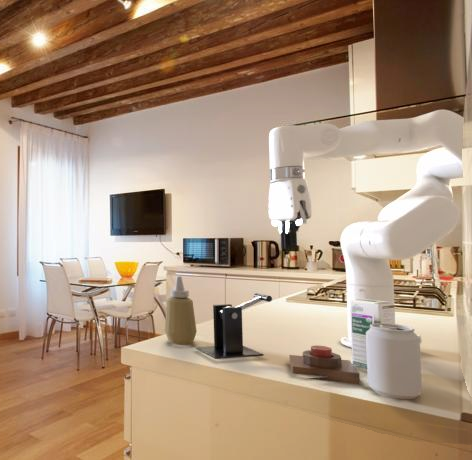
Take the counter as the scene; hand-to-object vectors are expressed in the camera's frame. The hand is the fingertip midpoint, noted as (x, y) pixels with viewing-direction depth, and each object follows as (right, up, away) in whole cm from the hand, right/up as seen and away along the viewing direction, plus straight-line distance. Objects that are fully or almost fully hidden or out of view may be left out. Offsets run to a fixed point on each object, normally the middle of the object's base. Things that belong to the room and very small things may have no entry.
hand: (289, 248), depth 104 cm
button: (-4, -21, -19) cm, 29 cm away
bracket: (-17, -25, -5) cm, 31 cm away
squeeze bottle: (-25, -26, +6) cm, 37 cm away
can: (+1, -25, -30) cm, 39 cm away
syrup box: (+8, -25, -18) cm, 31 cm away
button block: (-4, -25, -19) cm, 32 cm away
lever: (-13, -15, -4) cm, 20 cm away
